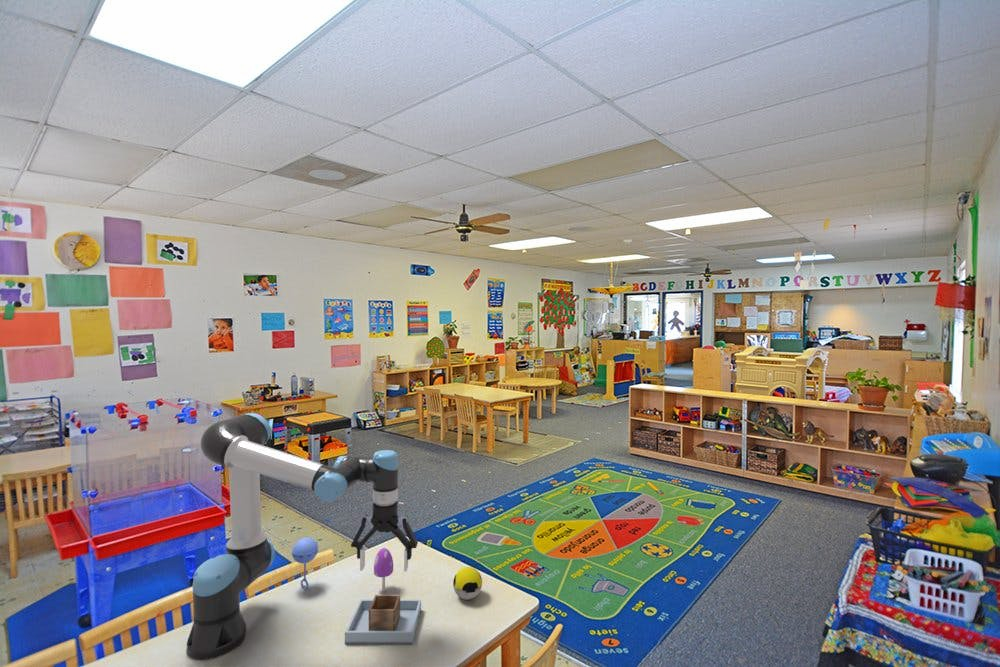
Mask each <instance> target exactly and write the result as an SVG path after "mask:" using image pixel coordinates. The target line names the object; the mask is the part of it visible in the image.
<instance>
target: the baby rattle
mask: <svg viewBox="0 0 1000 667" xmlns="http://www.w3.org/2000/svg"><path fill="white" fill-rule="evenodd" d="M318 553H319V545H318V543H317V541H316V540H315V539H313V538H312V537H303V538H300V539H299V540H298V541H296V542H295V544H294V545H293V547H292V550H291V555H292V558H293V559H294V561H295V562H297V563H299V564H303V578H302V580H301V581H300V586H301V588H304V589H305V590H308V589H309V587H310V586H309V583H308V582H309V581H308V580H307V578H306V577H307V576H306V574H307V572H306V571H307V564H308V563H310V562H312V561H313V560H314V559H315V558H316V556H317V555H318ZM303 583H305V585H304V584H303Z"/></svg>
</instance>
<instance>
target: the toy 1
mask: <svg viewBox="0 0 1000 667" xmlns="http://www.w3.org/2000/svg"><path fill="white" fill-rule="evenodd" d="M393 559H394V558H393V556H392V553H391V552H390V549H388V548H386V547H382V548H381V549H380V550H379V551H377V554H376V556H375V559H374V563H373V573H374V576H375V577H377V578H382V584H381V585H382V586H381V591H382V592H385V591H386V577H390V576H391V575H393V572H394V560H393Z"/></svg>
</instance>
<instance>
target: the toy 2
mask: <svg viewBox="0 0 1000 667" xmlns="http://www.w3.org/2000/svg"><path fill="white" fill-rule="evenodd" d="M452 582H453V584H452V585H453V586H452V587H453V590H454V593H455V595H457V596H458V597H459V598H460V599H462V600H466V601H468V600H473V599H474V598H476V597H477V596H478V595H480V594H479V593H480V592H481V590H482V588H483V579H482V575H481V574H480V572H479V571H478V570H477V569H476V568H475V567H472V566H465V567H462V568H460V569H459V570H458V571H457V572H456V573H455V575H454V577H453V581H452Z"/></svg>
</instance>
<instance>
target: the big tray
mask: <svg viewBox="0 0 1000 667" xmlns="http://www.w3.org/2000/svg"><path fill="white" fill-rule="evenodd" d="M372 602H373V599H359V601H358V604H357V606H356V608H355V610H354V611H353V614H352V616H351V619H350V621H349V622H348V625H347V627H346V629H345V631H344V645H413V644H414V640H415V636H416V632H417V627H418V625H419V620H420V616H421V611H422V599H400V619H399V622H398V625H397V628H396V631H369V609H370V606H371V604H372Z"/></svg>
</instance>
